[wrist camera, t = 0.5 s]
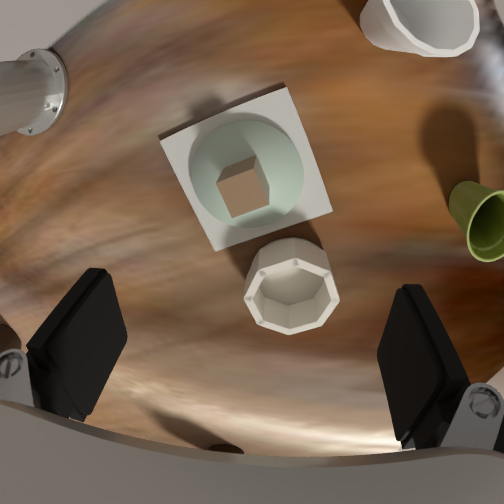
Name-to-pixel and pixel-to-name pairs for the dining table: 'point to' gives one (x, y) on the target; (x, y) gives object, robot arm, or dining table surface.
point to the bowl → (290, 286)
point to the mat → (263, 110)
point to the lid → (247, 174)
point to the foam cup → (421, 26)
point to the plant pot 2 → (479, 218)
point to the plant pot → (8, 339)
